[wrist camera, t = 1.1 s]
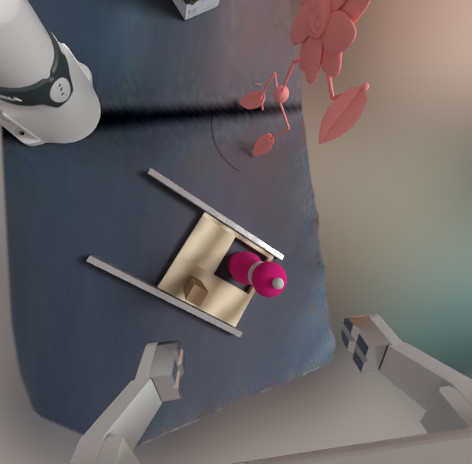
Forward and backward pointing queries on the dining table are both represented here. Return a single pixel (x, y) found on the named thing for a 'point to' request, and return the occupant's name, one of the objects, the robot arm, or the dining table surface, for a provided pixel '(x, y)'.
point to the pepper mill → (257, 273)
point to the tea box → (194, 7)
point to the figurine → (311, 56)
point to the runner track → (164, 295)
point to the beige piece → (208, 271)
